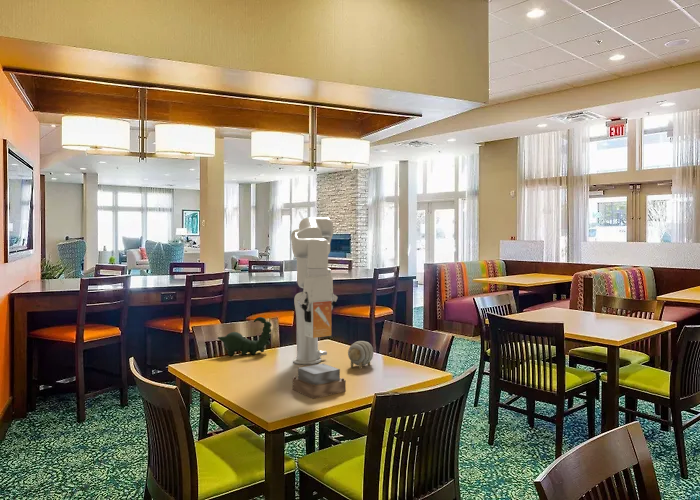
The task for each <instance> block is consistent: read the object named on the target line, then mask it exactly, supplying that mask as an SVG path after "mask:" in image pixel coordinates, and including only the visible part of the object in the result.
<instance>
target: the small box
mask: <svg viewBox="0 0 700 500" xmlns="http://www.w3.org/2000/svg"><path fill="white" fill-rule="evenodd" d="M306 302H307V301H305V303H306ZM308 302H309V301H308ZM310 311H311V322H305V336H308V337H311V338H317V337H318V338H324V337H332V317H331V314H332V313H333V312H332V313H331V311H333V309H332V301H330V300H329V301H318V302H312V304H311V309H310ZM332 315H333V314H332Z"/></svg>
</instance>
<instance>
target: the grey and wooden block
mask: <svg viewBox="0 0 700 500" xmlns="http://www.w3.org/2000/svg"><path fill="white" fill-rule="evenodd" d="M340 377H341V369H340V368H337V367H335V366H331V365H328V364H325V363H316V364H311V365H308V366H307V365H306V366H303V367H298V368H297V376H293V378H292V390H294V391H295V392H298V393H300V394H303V395H304V396H306V397H308V398H310V399H312V400H313V399H318V398H323V397H328V396H331V395H335V394H340V393H344V392H346V391H347V390H346V389H347V388H346V386H347V385H346V384H347V383H346V379H345V378H344V377H343V378H340Z"/></svg>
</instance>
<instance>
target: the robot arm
mask: <svg viewBox="0 0 700 500" xmlns="http://www.w3.org/2000/svg"><path fill="white" fill-rule="evenodd" d="M298 224H299V225H298V228H297V229H293V231H292V232H291V234H290V241H291V250H292V253H293V256H294V257H295V258H296V276H297V277H296V279H297V280H296V281H297V286H298V287H299V288H301V289H303V291H301V292H298V293H296V294H295V296H294V303H293V304H294V308H295V309H294V310H295V315H296V317H295V318H296V357H294V358H293V360H292V361H293V363H294V364H297V365H317V364H320V363H321V362H322V356H327V355H328V352H327V350H319V337H317V338H311V337H308V336H305V322H311V311H310V309H311V304H312V302H318V301H329V300H330V301H332V311H333V308H334V306H335V305H336V302H337V300H338V298H339V297H338V296H337V295H336V294H334V286H333V285H334V282H333V281H334V280H333V273H332V269H330V268H329V255H330V253H331V243H332V238H333V235H334V223H333V221H332V219H330V218H329V217H323V216H322V217H320V216H319V217H316V216H315V217H314V216H312V217H305V218H303V219H302V220H301V221H299V223H298ZM305 301H307V302H306V303H305ZM308 301H309V302H308ZM332 311H331V313H333V312H332ZM332 316H333V314H331V318H332Z"/></svg>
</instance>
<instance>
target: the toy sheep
mask: <svg viewBox="0 0 700 500" xmlns="http://www.w3.org/2000/svg"><path fill="white" fill-rule="evenodd" d="M347 356H348V359H349V360H350V369H353V368H354V365H356V366H358V369H359V370H362V369H363V367H364V366H366V365H367V366H370V365H371V362H372V360H373V358H374V347H373V346H372V344H371V343H370V342H368V341H365V340H358V341H355V342H354V343H352V344H351V345H350V346H349V348H348V350H347Z"/></svg>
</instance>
